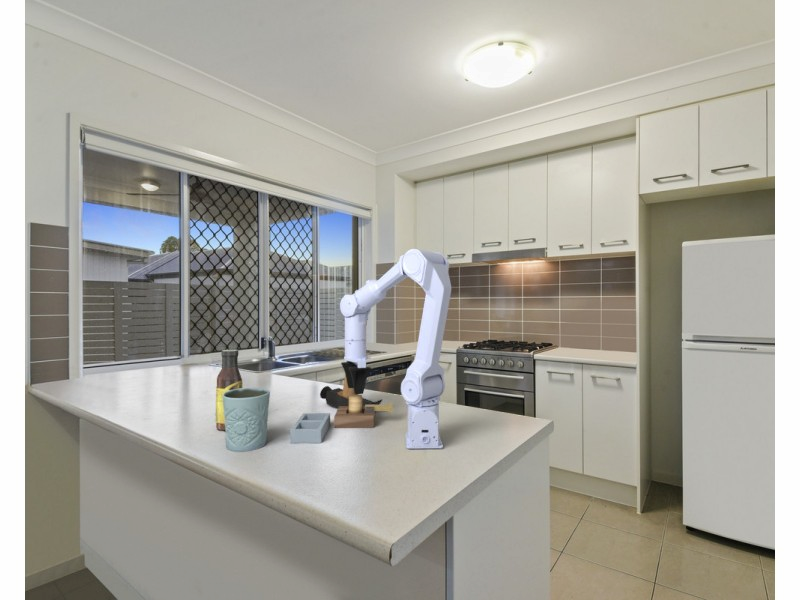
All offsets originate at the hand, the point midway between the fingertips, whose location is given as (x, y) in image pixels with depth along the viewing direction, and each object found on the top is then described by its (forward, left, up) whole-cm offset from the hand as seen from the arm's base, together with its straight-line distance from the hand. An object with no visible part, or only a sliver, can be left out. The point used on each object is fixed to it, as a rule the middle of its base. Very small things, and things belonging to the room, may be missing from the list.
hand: (355, 390), depth 111 cm
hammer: (+14, +3, -9) cm, 17 cm away
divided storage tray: (-9, +10, -8) cm, 16 cm away
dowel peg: (0, 0, -8) cm, 8 cm away
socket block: (0, 0, -8) cm, 8 cm away
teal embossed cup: (-17, +23, -9) cm, 30 cm away
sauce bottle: (-4, +32, -9) cm, 33 cm away
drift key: (0, -6, -5) cm, 8 cm away
